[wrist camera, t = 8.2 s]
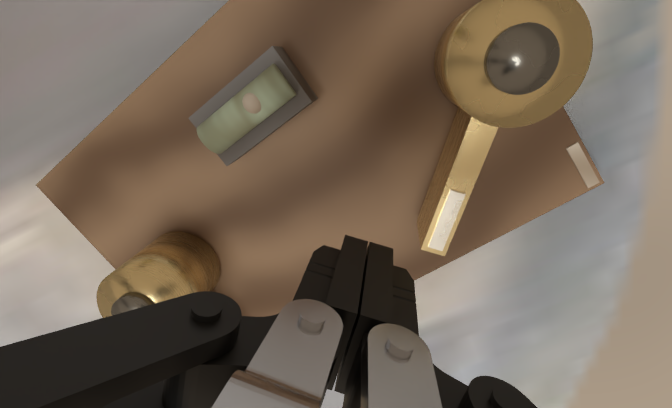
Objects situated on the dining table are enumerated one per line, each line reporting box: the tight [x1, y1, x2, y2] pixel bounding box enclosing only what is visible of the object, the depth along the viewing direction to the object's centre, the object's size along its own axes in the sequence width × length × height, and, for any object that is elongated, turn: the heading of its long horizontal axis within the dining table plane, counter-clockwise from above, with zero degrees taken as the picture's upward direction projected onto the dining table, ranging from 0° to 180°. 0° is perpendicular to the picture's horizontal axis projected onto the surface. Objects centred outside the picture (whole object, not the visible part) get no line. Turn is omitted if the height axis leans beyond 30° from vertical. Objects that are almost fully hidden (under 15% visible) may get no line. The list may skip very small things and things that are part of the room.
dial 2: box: [417, 0, 593, 256], centre depth 17 cm, size 12×5×6 cm, turn 166°
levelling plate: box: [36, 0, 604, 317], centre depth 22 cm, size 19×29×5 cm, turn 126°
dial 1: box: [97, 231, 220, 318], centre depth 24 cm, size 12×5×6 cm, turn 30°
